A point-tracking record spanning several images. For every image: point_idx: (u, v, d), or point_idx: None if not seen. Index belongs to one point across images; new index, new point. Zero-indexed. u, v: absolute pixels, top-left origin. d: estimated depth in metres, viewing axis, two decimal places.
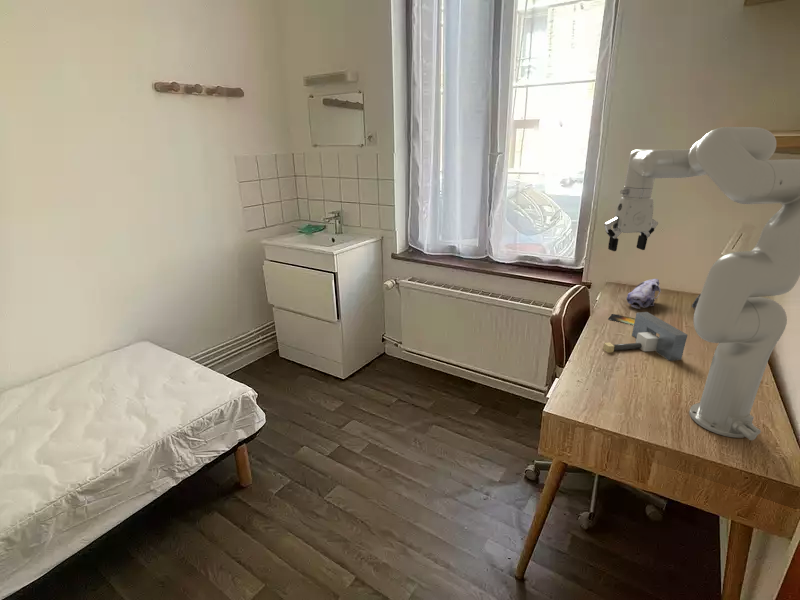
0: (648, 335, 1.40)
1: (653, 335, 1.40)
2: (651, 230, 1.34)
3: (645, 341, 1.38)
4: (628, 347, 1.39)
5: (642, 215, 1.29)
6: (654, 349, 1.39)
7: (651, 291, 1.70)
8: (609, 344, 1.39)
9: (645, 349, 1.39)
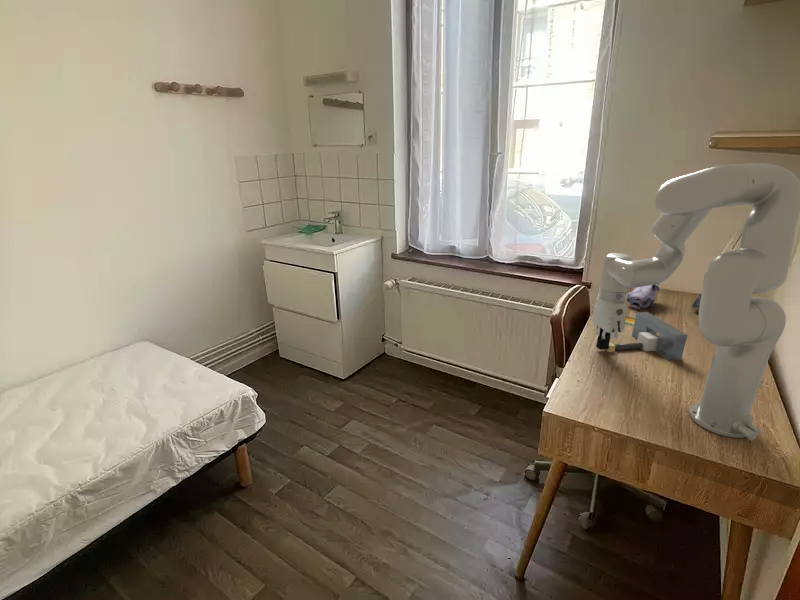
0: (649, 335, 1.40)
1: (654, 335, 1.40)
2: None
3: (646, 341, 1.38)
4: (629, 347, 1.39)
5: None
6: (655, 349, 1.39)
7: (651, 291, 1.70)
8: (610, 344, 1.39)
9: (646, 349, 1.39)
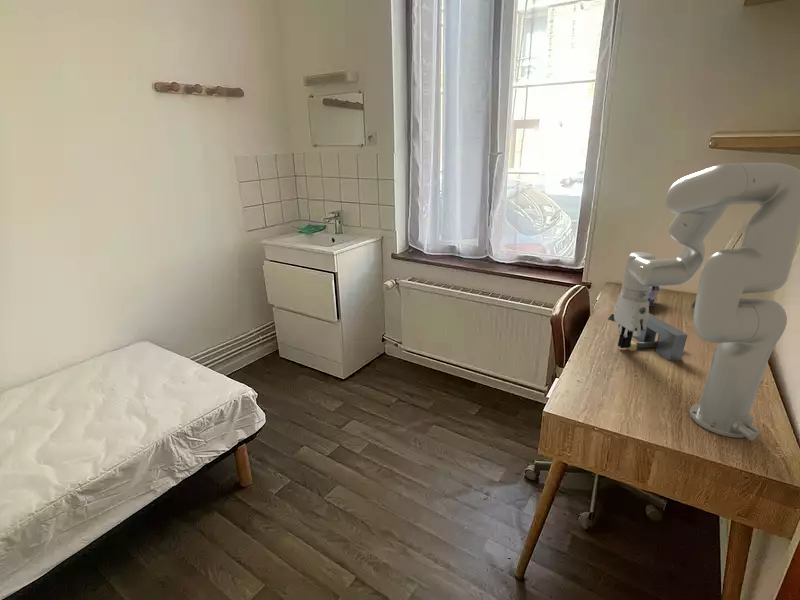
0: None
1: None
2: None
3: None
4: (650, 345, 1.40)
5: None
6: None
7: (651, 291, 1.70)
8: (632, 342, 1.40)
9: None
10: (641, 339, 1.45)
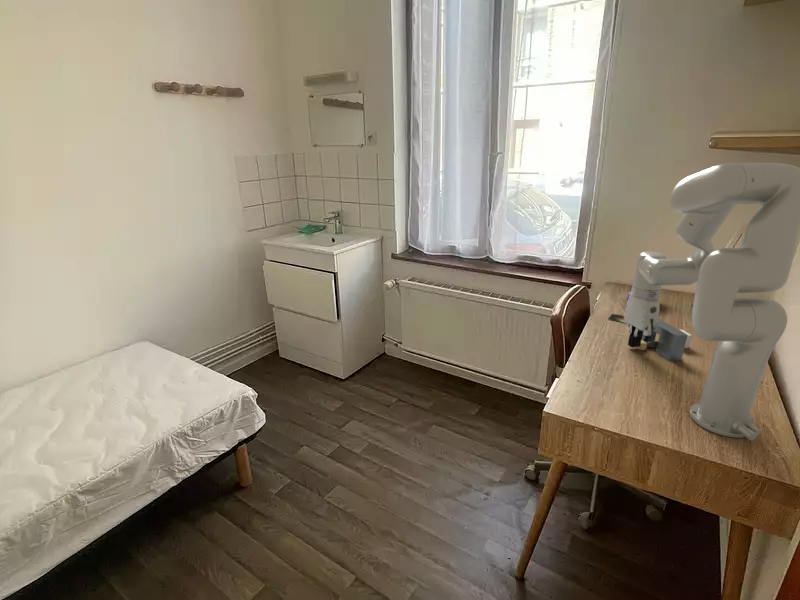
0: None
1: (685, 332, 1.41)
2: None
3: None
4: None
5: None
6: (686, 346, 1.41)
7: None
8: (642, 341, 1.40)
9: None
10: (641, 339, 1.45)
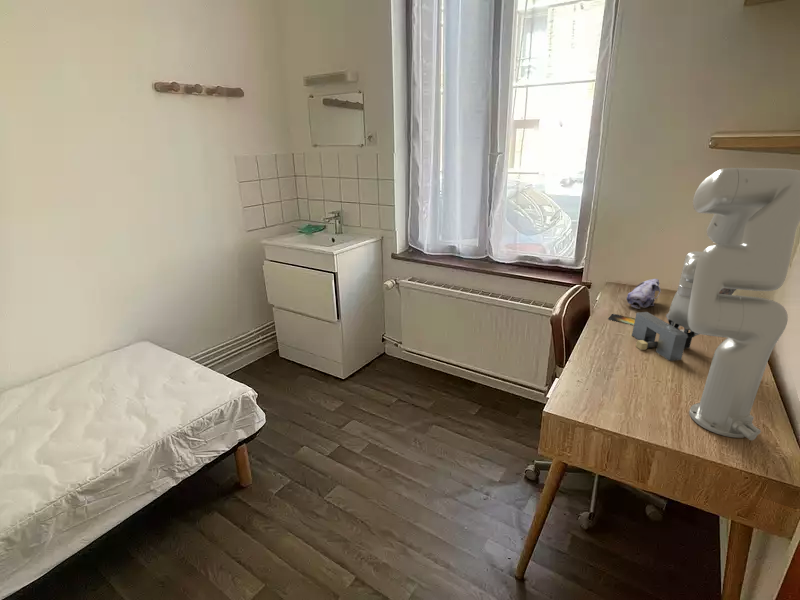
0: None
1: None
2: None
3: None
4: None
5: None
6: None
7: (651, 291, 1.70)
8: (642, 341, 1.40)
9: None
10: (641, 339, 1.45)
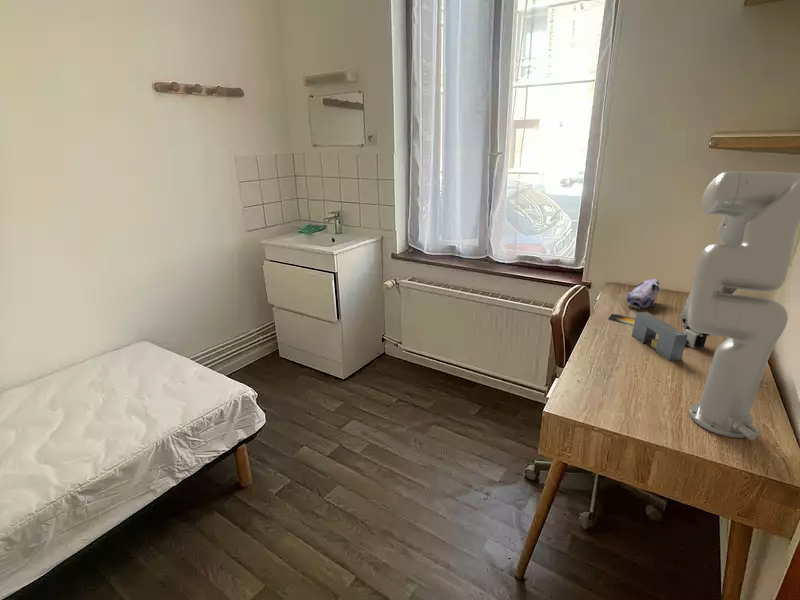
0: None
1: None
2: None
3: (693, 337, 1.40)
4: None
5: None
6: None
7: (651, 291, 1.70)
8: (657, 340, 1.41)
9: (693, 345, 1.41)
10: (641, 339, 1.45)
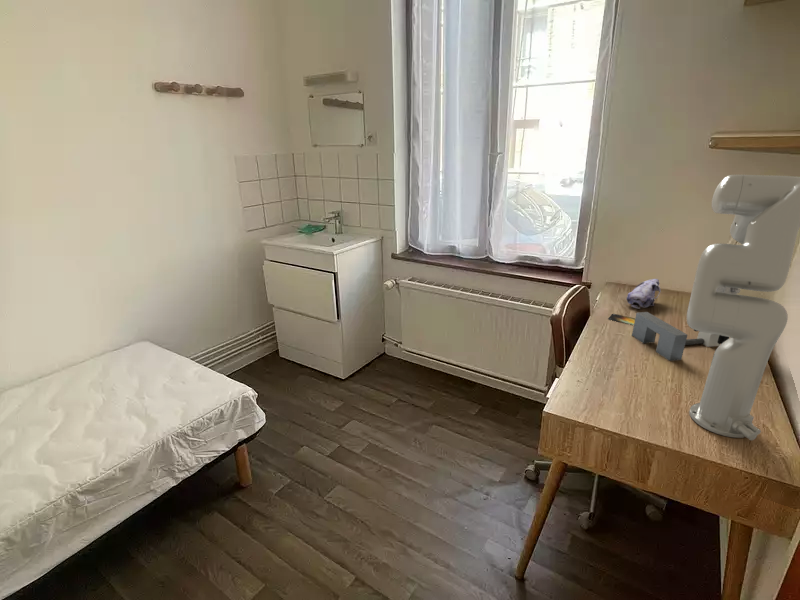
0: None
1: None
2: None
3: (708, 336, 1.41)
4: (691, 342, 1.42)
5: None
6: (717, 344, 1.42)
7: (651, 291, 1.70)
8: None
9: (708, 344, 1.42)
10: (641, 339, 1.45)
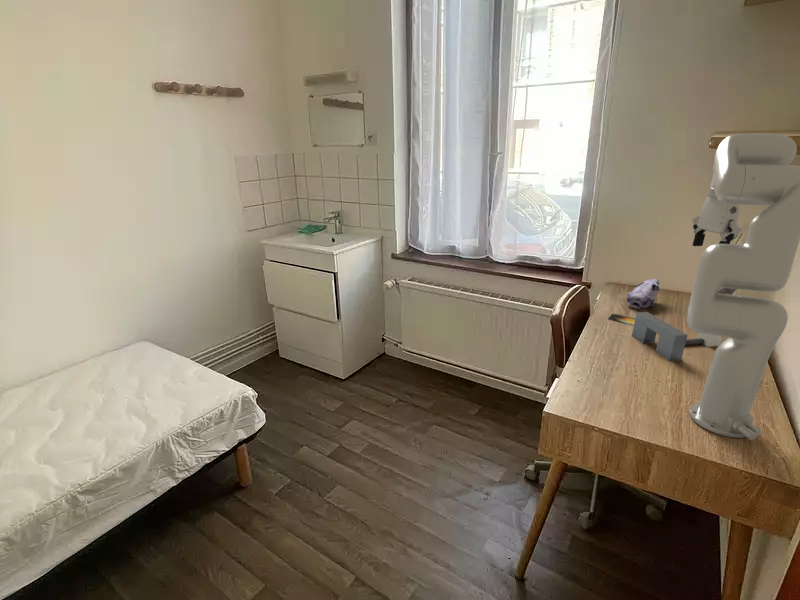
0: None
1: None
2: None
3: (708, 336, 1.41)
4: (691, 342, 1.42)
5: None
6: (717, 344, 1.42)
7: (651, 291, 1.70)
8: None
9: (708, 344, 1.42)
10: (641, 339, 1.45)
